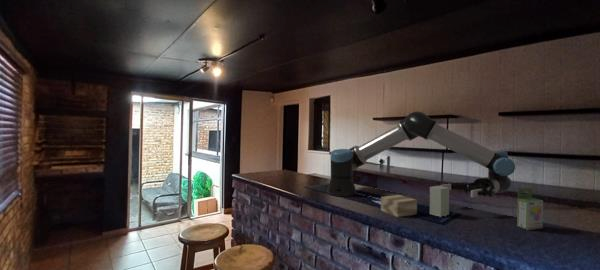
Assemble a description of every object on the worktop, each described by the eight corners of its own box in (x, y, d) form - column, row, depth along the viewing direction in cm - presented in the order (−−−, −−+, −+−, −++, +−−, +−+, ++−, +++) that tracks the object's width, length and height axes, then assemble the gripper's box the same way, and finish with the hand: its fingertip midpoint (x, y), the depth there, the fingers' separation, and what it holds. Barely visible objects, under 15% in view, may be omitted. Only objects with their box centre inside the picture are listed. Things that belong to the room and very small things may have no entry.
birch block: (380, 211, 122) (380, 196, 122) (399, 208, 126) (399, 194, 126) (397, 217, 113) (397, 202, 113) (416, 214, 117) (417, 199, 117)
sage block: (429, 213, 117) (429, 186, 117) (437, 212, 120) (438, 185, 119) (440, 217, 113) (440, 189, 113) (448, 215, 115) (449, 187, 115)
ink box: (528, 230, 98) (528, 191, 97) (516, 226, 101) (517, 188, 101) (543, 228, 100) (543, 190, 99) (531, 225, 103) (531, 187, 103)
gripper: (516, 200, 119) (486, 206, 109) (459, 189, 141) (429, 194, 132) (516, 182, 119) (486, 186, 109) (459, 174, 141) (429, 177, 132)
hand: (455, 191), depth 120 cm, fingers open, 13 cm apart
